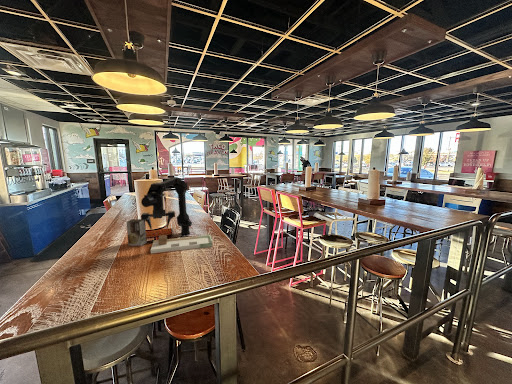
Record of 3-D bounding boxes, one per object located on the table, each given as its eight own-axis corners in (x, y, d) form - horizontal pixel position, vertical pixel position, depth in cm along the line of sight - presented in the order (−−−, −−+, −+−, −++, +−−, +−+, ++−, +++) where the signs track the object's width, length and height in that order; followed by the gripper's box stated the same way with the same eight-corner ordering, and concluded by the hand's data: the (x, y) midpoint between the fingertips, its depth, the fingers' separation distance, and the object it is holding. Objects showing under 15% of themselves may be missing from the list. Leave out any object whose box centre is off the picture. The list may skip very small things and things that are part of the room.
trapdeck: (153, 245, 135) (153, 240, 134) (210, 239, 146) (210, 234, 146) (150, 253, 124) (150, 247, 123) (212, 246, 135) (212, 240, 134)
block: (159, 242, 135) (159, 235, 134) (167, 241, 136) (166, 235, 135) (158, 245, 130) (158, 238, 130) (166, 244, 132) (166, 237, 131)
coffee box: (147, 242, 141) (145, 219, 139) (141, 246, 135) (139, 221, 132) (134, 241, 142) (132, 218, 140) (127, 245, 135) (125, 221, 133)
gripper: (138, 207, 117) (140, 234, 119) (174, 205, 123) (175, 231, 125) (141, 203, 127) (143, 228, 129) (174, 202, 134) (175, 225, 136)
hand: (159, 228), depth 130 cm, fingers open, 9 cm apart
